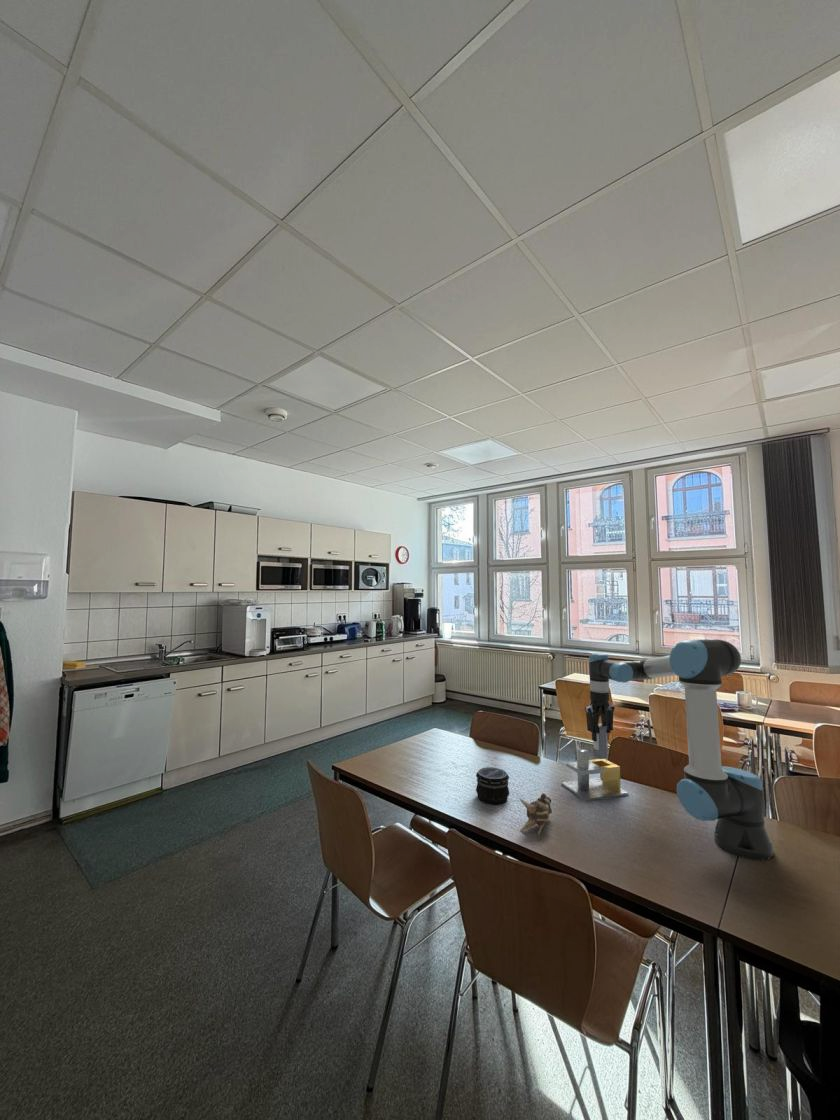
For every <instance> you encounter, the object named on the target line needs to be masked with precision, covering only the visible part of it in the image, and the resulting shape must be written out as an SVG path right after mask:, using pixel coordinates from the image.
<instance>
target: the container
mask: <svg viewBox="0 0 840 1120" xmlns="http://www.w3.org/2000/svg"><path fill="white" fill-rule="evenodd" d="M475 777H476V782H477V785H476V788H475V792H476V794H477V800H478V801H479V802H480V803H482V804H483V805H484V804H485V805H489V806H501V805H504V804H506V803H507V802H508V798H509V795H510V790H509V779H510V777H509V774H508V773H507V772H506V770H504V769H503V768H499V767H493V766H491V767H490V766H489V767H488V766H486V767H482V768H480V769H478V771H477V772H476V774H475Z"/></svg>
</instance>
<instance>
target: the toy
mask: <svg viewBox="0 0 840 1120" xmlns="http://www.w3.org/2000/svg"><path fill="white" fill-rule="evenodd" d="M518 799H519V800H520V802H521V803H522V805H524V807H525V808H526V817H527V818H528V820H527V822H525V824H524V825H523V826H522V827H521V828H520V830H519V831H521V832H522V831H525V830H528V829H530V828H532V827H534V826H536V825H537V826H538V833H537V835H540V833H541V831H542V830H543V828H544V826H545V824H546V823H547V822H549V819H550V815H551V814H552V813H553V810H552V807H551V804H552V799H551V798H550V797H549V796H547V794H545V793H543V792H542V793H541V795H540V796H539V797H538V798H537V799H536V801H531V802H530V803H529V802H528V801H525V799H522V798H520V797H518Z"/></svg>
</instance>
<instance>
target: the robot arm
mask: <svg viewBox="0 0 840 1120" xmlns="http://www.w3.org/2000/svg"><path fill="white" fill-rule="evenodd" d="M741 663H742V657H741V653H740V651H739V650H738V649H737V647H736V646H735V645H734V644H732V643H730V642H728V641H726V640H723V639H687V640H681V641H679V642H677V643H676V644H675V645H674V646H673V647H672V648H671V650H670V652H669V655H664V656H659V657H655V658H654V657H653V658H647V659H639V660H622V661H621V660H620V661H619V660H617V661H615V660H610V659H609V655H608V654H607V653H601V652H600V653H599V652H592V653H590V654H589V661H588V667H589V668H588V669H589V672H588V673H589V689H590V691H589V699H590V704H589V705H588V706H585V707H584V710H585V715H586V727H587V729H586V730H587V731H589V733H591V740H592V744H593V750H594V749H597V750H599V733H597V731H598V724H600V723H599V722H600V721H599V720H601V724H603V725H606V726H607V729H606V738H607V750H608V748H609V747H608V746H609V745H608V744H609V743H608V741H609V740H610V737H609V736H610V735H609V734H610V733H611V732H612V731H613V730H614V712H615V707H616V706H614V705H611V704H610V703H609V701H610V692H609V691H610V680H611V681H615V682H617V683H628V682H630V681H638V680H645V681H646V680H647V681H648V680H653V679H658V678H666V677H667V678H668V677H675V676H678V682H679V683H680V684H681V685H682V686H683V687H684V697H685V698H684V699H685V712H686V713H685V714H686V716H685V717H686V733H687V749H688V764H687V765H686V766H685V767H684V768H683V775H684V778H682V779H680V780H679V782H678V783H677V784H676V794H677V798H678V800H679V802H680V804H681V806H683V808H684V810H685V811H686V813H687V814H688V815H690V816H691V817H692V818H694V819H695V820H699V821H701V822H704V821H706V822H707V821H712V822H713V821H717V823H716V825H715V828H714V831H713V839H714V842H715V844H716V845H718V846H719V848H721V849H723V850H724V851H726V852H728V853H730V854H733V855H735V856H738V857H741V858H745V859H749V860H757V861H763V860H762V859H767V860H769V859H768V858H770V857H772V856H773V857H774V847H773V844H772V843H771V841H770V838H769V835H768V832H767V830H766V825H765V811H764V808H765V807H764V789H763V782H762V778H760V777H759V776H758V775H756V774H754V773H752V772H750V771H747V770H743V769H740V768H737V767H732V766H724V765H723V766H722V757H721V753H722V752H721V740H720V739H721V738H720V725H719V713H718V712H719V711H718V710H719V709H718V699H717V698H718V697H717V696H718V695H717V693H718V692H717V690H718V689H719V688H720V687H721V686H722V685H723V683H722V677H724V676H729V675H732V674H734V673H736V672H737V671H738V669H739V668H740V666H741ZM773 857H772V858H773ZM770 859H771V858H770Z"/></svg>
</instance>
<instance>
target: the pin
mask: <svg viewBox="0 0 840 1120" xmlns="http://www.w3.org/2000/svg"><path fill="white" fill-rule="evenodd" d="M606 729H607V726H606V725H603V724H602V723H598V731H597V733H599V750H597V749H594V748H593V750H594V751H593V752H594V753H593V754H594V757H595V758H597V759H606V760H607V759H608V754H607V753H608V752H607V751H608V749H607V738H606Z"/></svg>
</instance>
